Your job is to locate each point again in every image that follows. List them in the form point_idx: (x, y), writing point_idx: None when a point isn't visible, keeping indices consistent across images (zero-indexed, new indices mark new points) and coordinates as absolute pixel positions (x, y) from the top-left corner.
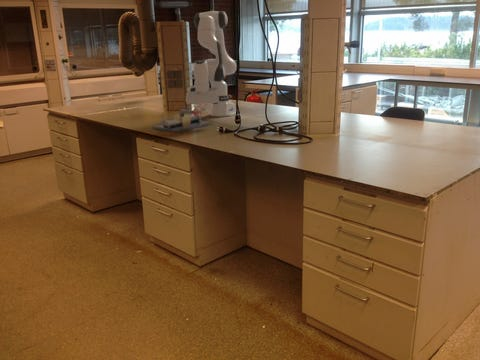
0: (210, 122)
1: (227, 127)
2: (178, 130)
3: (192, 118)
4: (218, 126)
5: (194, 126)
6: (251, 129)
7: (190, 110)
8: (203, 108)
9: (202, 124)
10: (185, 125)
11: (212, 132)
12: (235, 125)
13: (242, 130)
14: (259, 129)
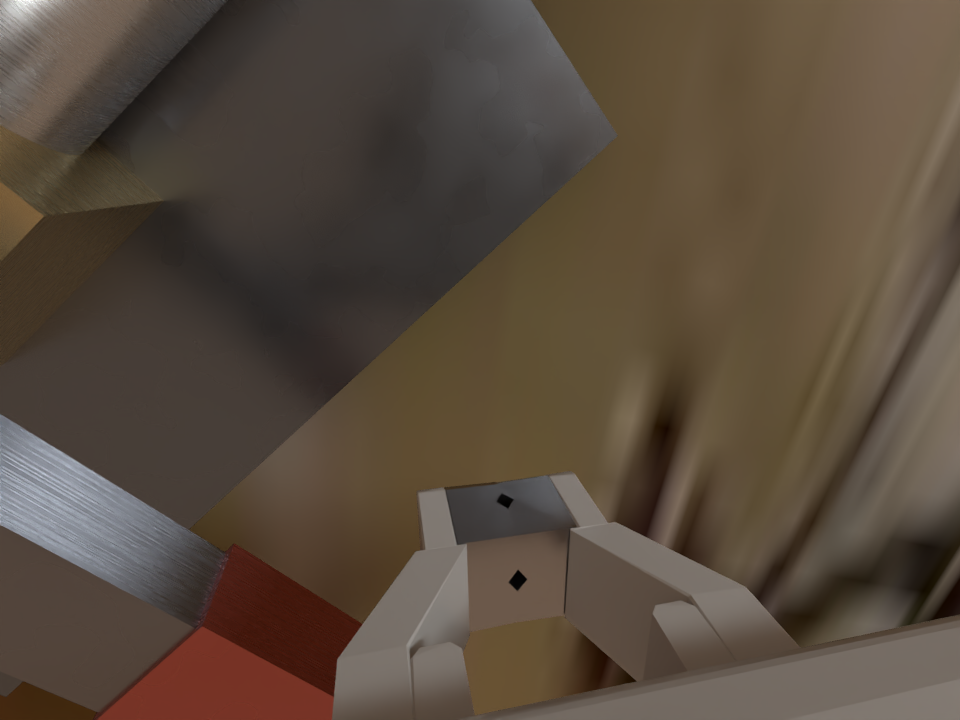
0: (589, 158)
1: (735, 435)
2: (21, 680)
3: (163, 28)
4: (654, 338)
5: (270, 451)
6: (892, 579)
7: (7, 613)
8: (525, 607)
9: (419, 314)
10: (70, 366)
11: (502, 665)
12: (870, 329)
13: (804, 610)
14: (946, 588)
